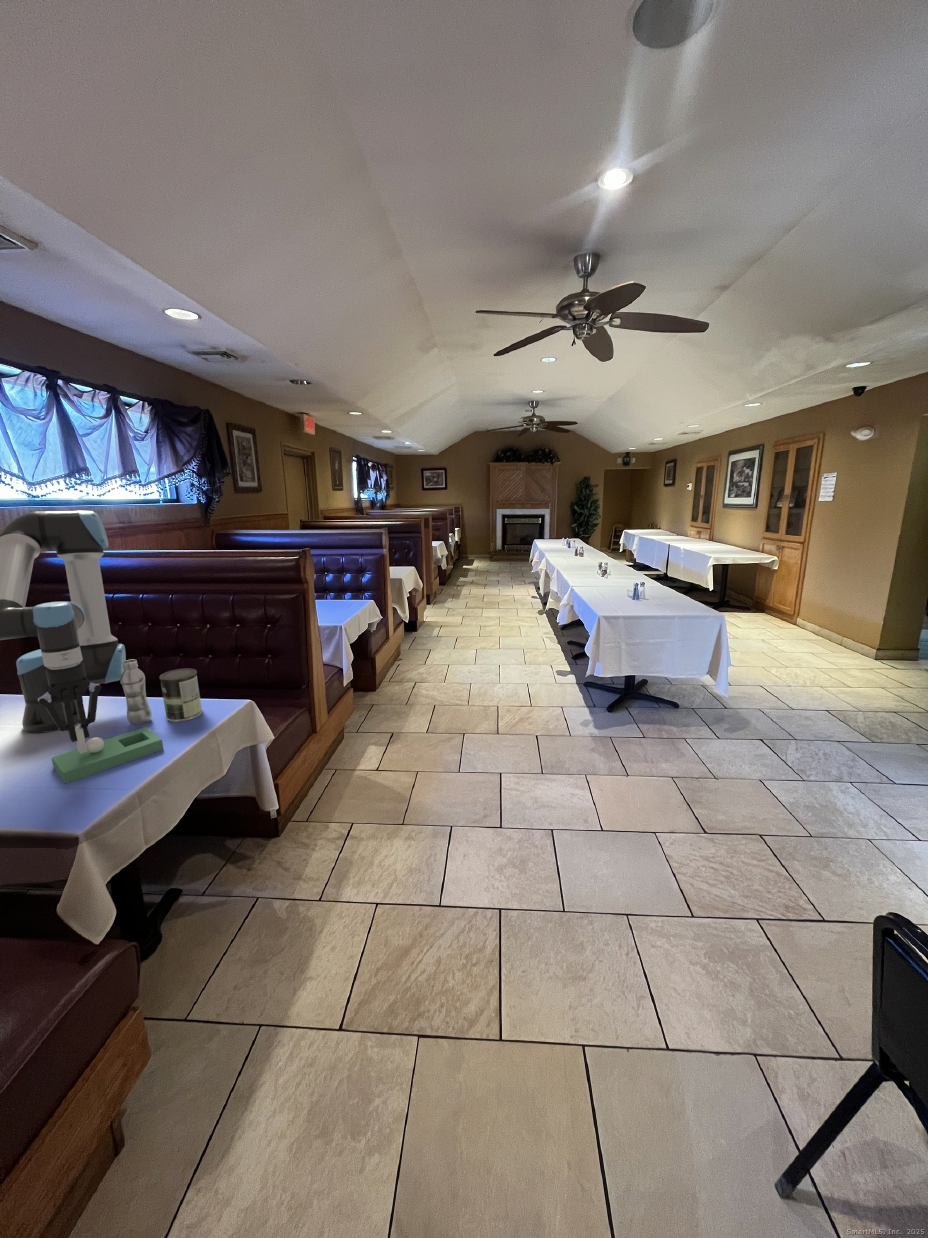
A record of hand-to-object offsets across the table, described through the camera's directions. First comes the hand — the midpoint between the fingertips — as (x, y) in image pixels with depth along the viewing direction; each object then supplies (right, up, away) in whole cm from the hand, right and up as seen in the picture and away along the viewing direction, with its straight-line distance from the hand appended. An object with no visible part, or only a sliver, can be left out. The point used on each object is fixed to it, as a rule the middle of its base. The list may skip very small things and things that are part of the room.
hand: (82, 750), depth 128 cm
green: (+3, -3, +5) cm, 7 cm away
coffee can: (+9, +3, +31) cm, 33 cm away
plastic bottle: (-2, +2, +26) cm, 26 cm away
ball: (+2, +1, +2) cm, 3 cm away
